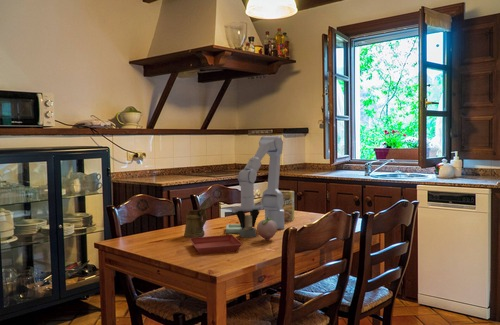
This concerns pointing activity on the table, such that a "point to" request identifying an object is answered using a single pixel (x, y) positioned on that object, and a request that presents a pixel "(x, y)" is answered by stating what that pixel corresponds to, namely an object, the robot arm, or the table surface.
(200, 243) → the plant saucer
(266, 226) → the decorative fruit
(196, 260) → the table surface
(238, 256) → the table surface
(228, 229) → the tray
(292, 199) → the candy box
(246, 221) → the dowel
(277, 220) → the robot arm
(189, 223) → the brown wooden container
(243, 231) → the octagonal ring
